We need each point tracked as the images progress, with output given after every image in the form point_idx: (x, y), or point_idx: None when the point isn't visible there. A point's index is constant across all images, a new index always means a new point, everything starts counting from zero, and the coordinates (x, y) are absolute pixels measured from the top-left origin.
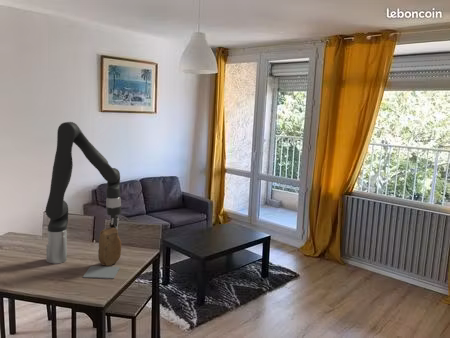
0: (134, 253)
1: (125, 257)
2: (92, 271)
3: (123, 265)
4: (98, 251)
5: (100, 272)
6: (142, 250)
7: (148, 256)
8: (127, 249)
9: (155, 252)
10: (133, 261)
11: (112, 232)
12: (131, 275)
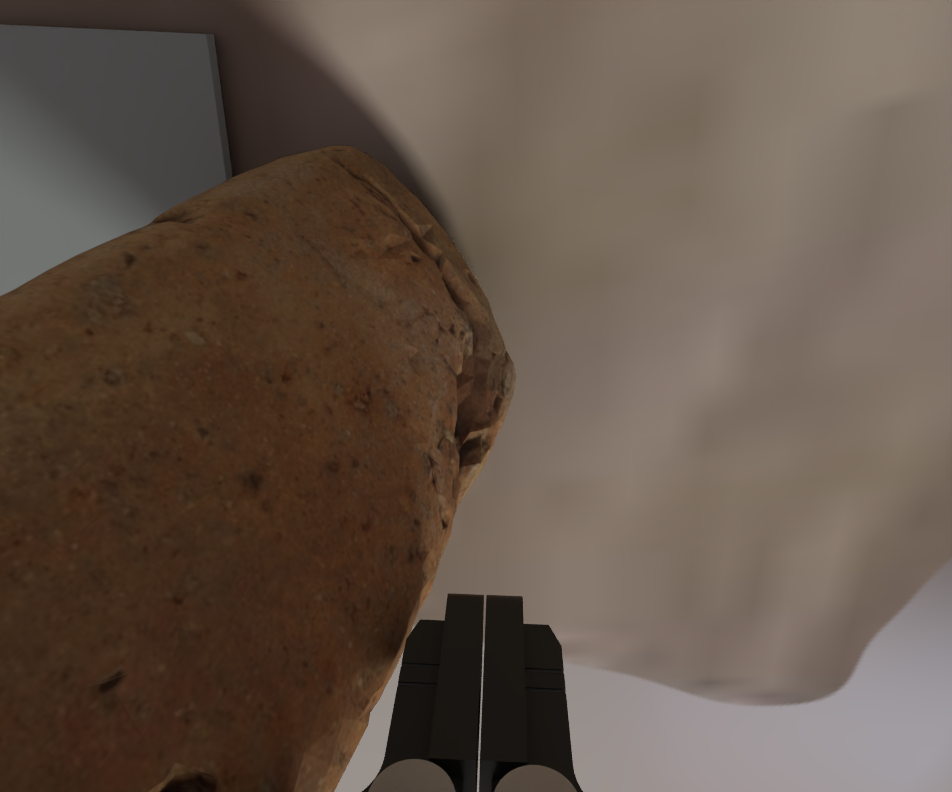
0: (758, 525)
1: (622, 446)
2: (20, 119)
3: None
4: (219, 185)
5: (32, 245)
6: (851, 593)
7: (642, 654)
8: (937, 431)
9: (758, 701)
10: (490, 540)
11: None
12: None
